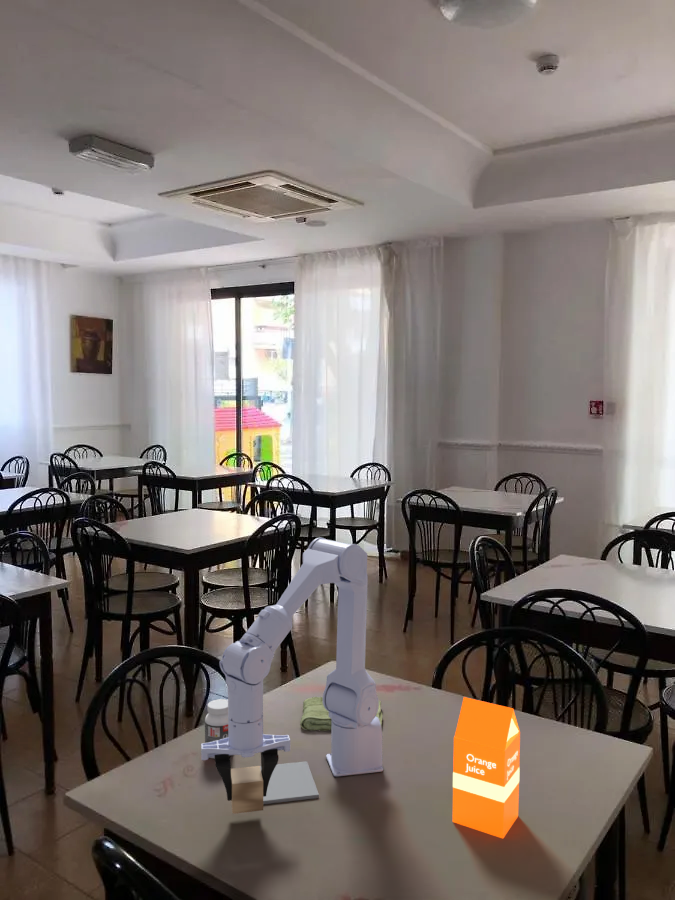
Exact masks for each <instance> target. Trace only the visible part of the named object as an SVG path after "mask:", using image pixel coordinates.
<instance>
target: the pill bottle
mask: <svg viewBox="0 0 675 900" xmlns="http://www.w3.org/2000/svg"><path fill="white" fill-rule="evenodd" d="M207 712H208V713H207V714H206V716H205V719H204V743H208V742H213V741H217V740H220V739H224V738H228V699H224V698H222V699H220V698H219V699H213V700H210V701H209V702H208V703H207ZM210 759H214V760H215V757H210Z"/></svg>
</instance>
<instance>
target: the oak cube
mask: <svg viewBox="0 0 675 900" xmlns="http://www.w3.org/2000/svg"><path fill="white" fill-rule="evenodd" d="M260 766H261V765H253V766H245V767H235V768H231V790H232V800H230V804H231V805H230V806H231V812H232V814H233V815H236V814H242V813H243V814H245V813H253V812H259V811H264V804H263V778H262V773H261V769H260Z"/></svg>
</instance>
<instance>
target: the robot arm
mask: <svg viewBox="0 0 675 900" xmlns="http://www.w3.org/2000/svg"><path fill="white" fill-rule="evenodd" d="M307 547H308V548H306V550H305V551H304V552H302V564H301V566H300V567H299V569H298V571H297V572H296V573H295V575H294V576H293V578H292V580H291V581H290V582H289V584H288V586H287V587H286V589H285V590H284V592H283V593H282V594H281V596H280V598H279V600H277V602H276V604H273V605H267V606H265V607H264V609H261V610H260V612H259V613H258V614H257V615H258V616H257V618H256V619H255V620H254V621H253V622H252V624H251V626H249V628H248V629H247V630H246V632H245V633H244V634H243V635H242V637H241V638H240V639H239V640H237V641H235V642H232V643H231V644H230V645H227V647H226V648H225V649H224V651H223V653H222V658H221V660H219V663H218V664H219V668H220V670H221V672H222V673H223V674H224V676H225V684H226V685H227V700H228V738H224V739H220V740H217V741H213V742H208V743H205V742H203V743H200V755H201V761H207V760H209V758H210V757H215V759H214V764H215V765H214V766H215V768H216V770H217V772H218V774H219V776H220V777H221V780H222V782H223V785H224V787H225V788H224V789H225V792H226V797H227V798H226V799H227V801H229V802H231V800H232V790H231V769H232V764H231V756H241V758H243V759H244V758H252V757H255V754H258V753H260V763H261V764H260V766H261V773H262V778H263V797H264V796H266V793H267V788H268V784H269V781H270V778H271V775H272V773H273V771H274V769H275V767H276V765H277V764H279V763H278V762H279V754H278V752H279V751H283V752H291V738H290V735H289V734H283V735H282V734H265V733H264V679H265V678H267V676H268V675H269V673H270V671H271V667H272V666H271V665H272V661H273V659H274V656H275V652H276V650H277V649H278V648H279V646H280V645H281V644H282V642H283V641H284V640H285V638H286V637H287V635H288V634H289V633H290V632H291V630H292V629H293V620H292V619H293V616H294V615H295V614H296V613H297V612H298V610H299V609H300V608H301V607H302V606H303V604H304V603H305V602H306V601H307V600H308V599H309V598H310V597H311V595H312V594H313V593H314V592H315V591H316V590H317V589H318V587H320V586H321V585H325V584H334V585H335V586H336V587H337V588H338V591H337V592H338V594H337V595H338V596H337V623H336V624H337V625H336V626H337V627H336V628H337V629H336V630H337V631H336V658H335V659H336V660H335V661H336V663H335V669H334V670H332V671H331V672H329V673H328V674H327V675H326V683H325V688H324V690H323V693H322V697H323V705H324V708H325V709H326V710H327V711H329V717H330V718H331V730H330V731H331V733H330V734H331V735H330V736H331V737H330V739H331V740H330V741H331V742H330V748H331V749H330V750H331V753H327V754H326V755H325V758H326V760H327V763H328V765H329V767H330V770H331V772H332V775H333V777H343V776H353V775H362V774H370V773H371V774H372V773H379V772H380V773H381V772H383V771H384V766H383V729H382V724H380V721H379V718H378V717H375V716H376V714H377V712H378V707H379V701H380V700H379V696H378V694H377V683H376V682H375V680H374V679H373V678H372V676H371V675H370V674H369V672H368V671H367V670H366V647H367V646H366V645H367V644H366V643H367V642H366V640H367V618H368V617H367V615H368V614H367V613H368V611H367V609H368V587H369V586H368V583H369V582H368V579H369V578H368V553H367V551H366V550H364V549H363V548H362V547H361V546H360V545H359V544H357V543H346V542H341V541H336V540H332V539H328V538H327V539H326V538H324V537H316V538H315V539H313V540H312V541H311V542H310V543H309V545H308V546H307ZM210 759H211V758H210Z"/></svg>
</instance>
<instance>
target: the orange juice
mask: <svg viewBox="0 0 675 900" xmlns="http://www.w3.org/2000/svg"><path fill="white" fill-rule="evenodd" d="M520 747H521V731H520V727H519V724H518V720H517V717H516V714H515V709H514V707H513V708H512V707H509V706H504V705H499V704H496V703H493V702H492V703H490V702H487V701H484V700H483V701H482V700H477V699H474V698H469V697H466V696H463V699H462V703H461V707H460V712H459V716H458V721H457V725H456V728H455V732H454V736H453V755H452V756H453V759H452V760H453V761H452V762H453V763H452V764H453V765H452V766H453V769H452V770H453V771H452V820H451V821H452V823H455V824H457V825H460V826H464V827H467V828H469V829H472V830H476V831H479V832H482V833H485V834H488V835H491V836H493V837H497V838H500V839H504V838H505V837H506V835H507V834H508V832H509V830H510V829H511V828H512V826H513V825H514V823H515V822H516V820H517V819H518V817H519V803H520V802H519V801H520V799H519V798H520V773H521V772H520V770H521V769H520V768H521V767H520V761H521V760H520V753H521V752H520V749H521V748H520Z"/></svg>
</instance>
